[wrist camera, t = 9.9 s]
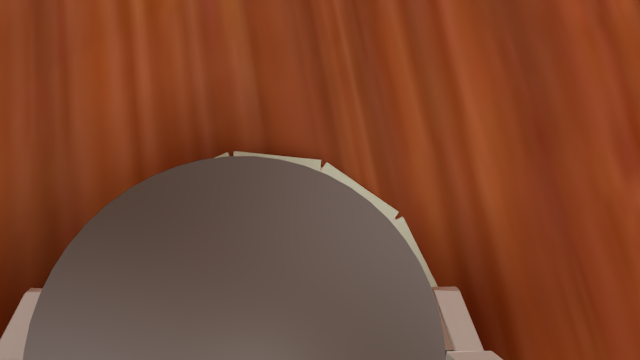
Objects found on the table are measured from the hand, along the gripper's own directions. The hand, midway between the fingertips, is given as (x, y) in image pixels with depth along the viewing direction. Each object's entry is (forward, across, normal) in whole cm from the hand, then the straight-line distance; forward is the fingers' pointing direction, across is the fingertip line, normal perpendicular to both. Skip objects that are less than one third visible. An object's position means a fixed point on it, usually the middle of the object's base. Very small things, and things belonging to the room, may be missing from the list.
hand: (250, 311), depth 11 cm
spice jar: (+3, 0, +4) cm, 5 cm away
